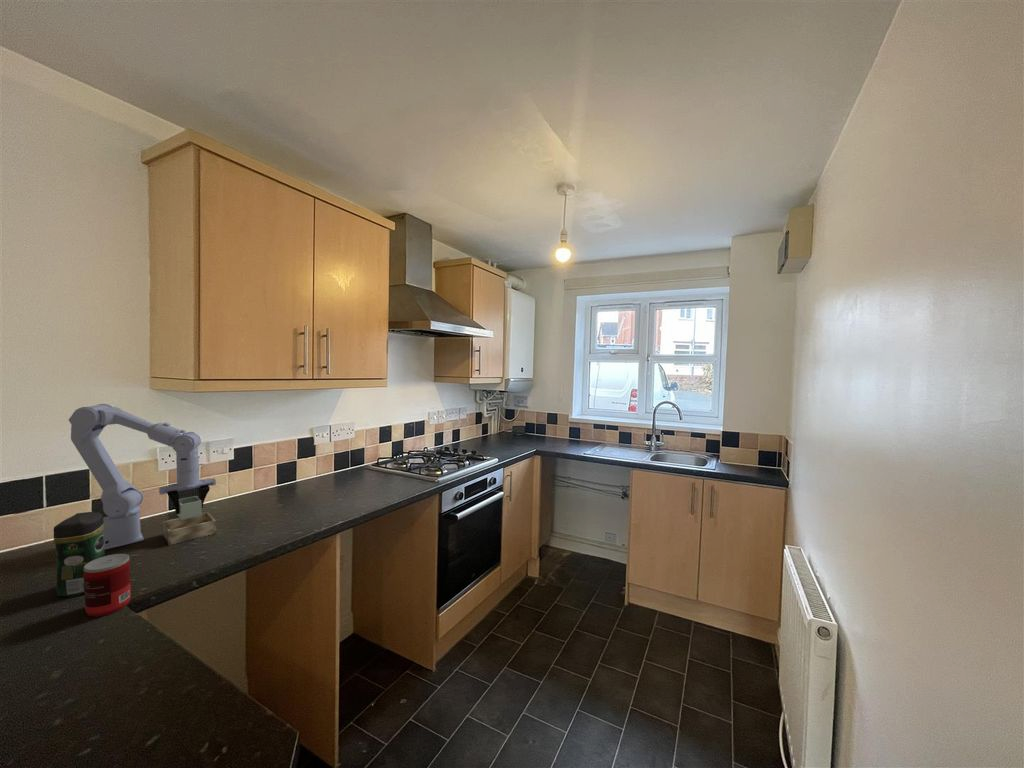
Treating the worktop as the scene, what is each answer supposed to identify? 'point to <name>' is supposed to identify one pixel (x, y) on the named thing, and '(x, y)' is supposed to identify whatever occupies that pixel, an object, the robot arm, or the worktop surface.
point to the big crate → (188, 528)
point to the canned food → (107, 584)
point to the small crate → (190, 507)
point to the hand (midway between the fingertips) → (189, 510)
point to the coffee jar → (77, 549)
